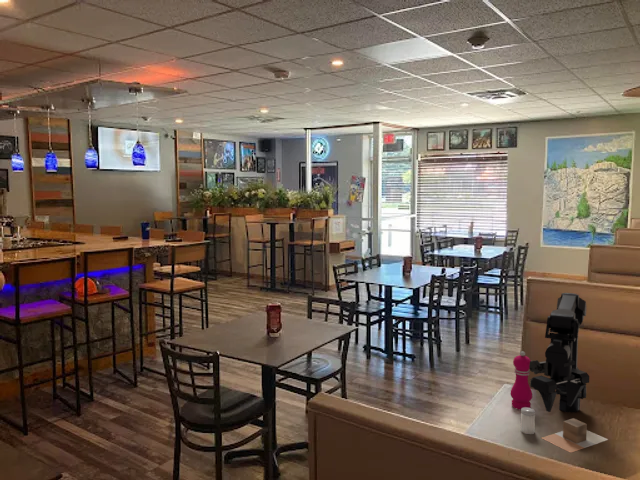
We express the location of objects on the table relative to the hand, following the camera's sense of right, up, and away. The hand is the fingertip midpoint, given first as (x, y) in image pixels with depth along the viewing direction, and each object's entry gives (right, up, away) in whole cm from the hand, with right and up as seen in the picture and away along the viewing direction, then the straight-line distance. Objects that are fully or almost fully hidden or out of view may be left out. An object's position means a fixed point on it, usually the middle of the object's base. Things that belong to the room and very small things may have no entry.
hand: (559, 408), depth 146 cm
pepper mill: (+1, -10, +31) cm, 32 cm away
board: (+7, -12, +5) cm, 14 cm away
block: (+7, -11, +4) cm, 13 cm away
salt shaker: (-5, -12, +10) cm, 16 cm away
